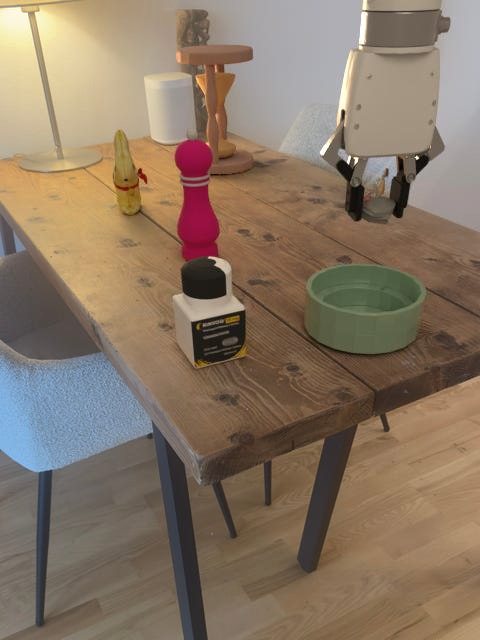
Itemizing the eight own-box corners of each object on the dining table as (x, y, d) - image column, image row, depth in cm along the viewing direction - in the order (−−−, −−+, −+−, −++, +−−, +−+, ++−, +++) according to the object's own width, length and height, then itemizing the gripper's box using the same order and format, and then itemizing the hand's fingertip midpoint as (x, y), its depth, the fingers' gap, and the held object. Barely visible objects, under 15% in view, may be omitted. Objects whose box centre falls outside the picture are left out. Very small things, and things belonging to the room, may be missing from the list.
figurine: (394, 228, 66) (402, 175, 62) (356, 228, 67) (362, 174, 63) (390, 213, 70) (398, 162, 66) (354, 213, 71) (360, 162, 67)
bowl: (393, 297, 84) (399, 259, 81) (437, 350, 73) (446, 308, 69) (292, 307, 83) (294, 268, 79) (321, 363, 71) (324, 320, 67)
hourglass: (201, 155, 152) (194, 44, 137) (262, 159, 148) (262, 44, 132) (173, 172, 140) (162, 52, 124) (239, 178, 135) (237, 53, 119)
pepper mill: (191, 267, 95) (181, 136, 82) (172, 253, 100) (160, 127, 87) (228, 257, 98) (224, 129, 85) (208, 244, 102) (200, 121, 90)
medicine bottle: (195, 370, 70) (187, 280, 63) (176, 344, 75) (167, 257, 68) (247, 357, 72) (245, 268, 65) (225, 332, 77) (221, 247, 70)
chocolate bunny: (118, 218, 114) (105, 137, 105) (117, 202, 123) (105, 125, 113) (152, 216, 115) (142, 135, 106) (149, 199, 124) (139, 123, 114)
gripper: (459, 27, 60) (427, 201, 72) (306, 33, 59) (298, 211, 70) (495, 32, 55) (454, 221, 66) (327, 39, 53) (314, 232, 64)
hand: (374, 214), depth 68 cm, fingers closed on figurine, 4 cm apart
